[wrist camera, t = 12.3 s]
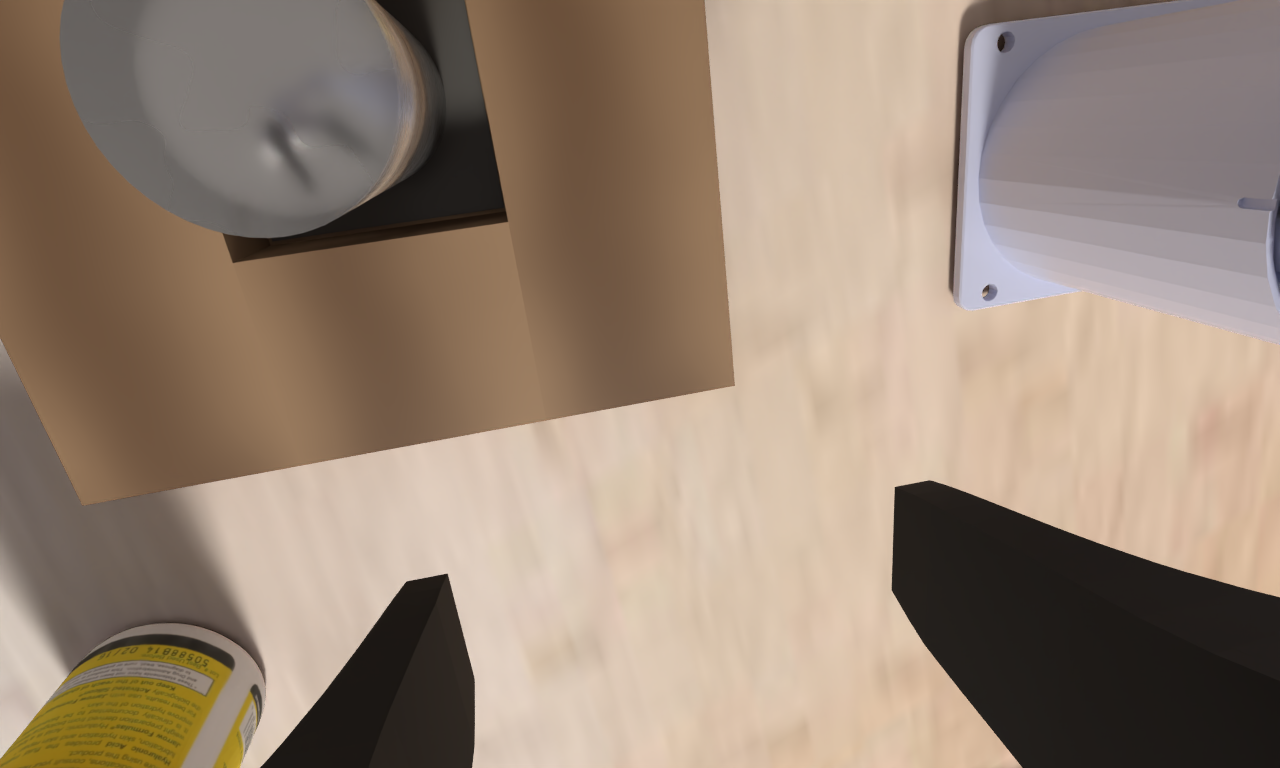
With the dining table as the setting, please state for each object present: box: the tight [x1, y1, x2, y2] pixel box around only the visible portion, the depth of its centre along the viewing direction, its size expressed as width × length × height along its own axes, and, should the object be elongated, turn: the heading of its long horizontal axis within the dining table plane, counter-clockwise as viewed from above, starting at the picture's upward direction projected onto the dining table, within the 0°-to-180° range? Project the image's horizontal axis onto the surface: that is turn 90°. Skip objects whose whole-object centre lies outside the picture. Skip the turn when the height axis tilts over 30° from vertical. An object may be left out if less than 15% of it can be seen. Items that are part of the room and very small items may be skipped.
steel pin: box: [60, 0, 446, 238], centre depth 13 cm, size 4×4×8 cm
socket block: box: [0, 0, 735, 506], centre depth 15 cm, size 16×16×3 cm
